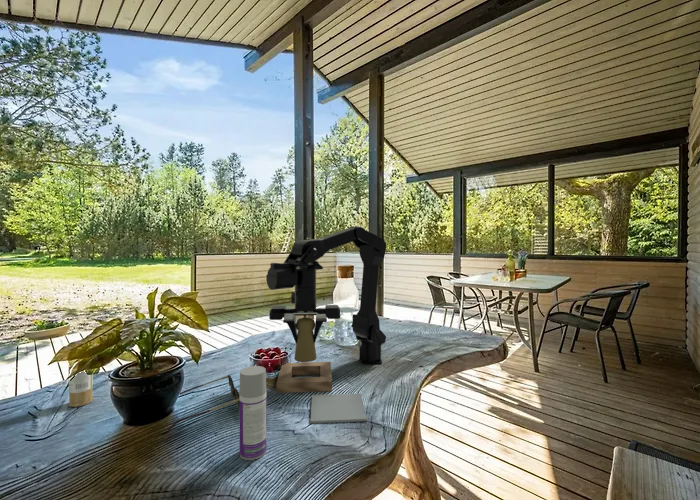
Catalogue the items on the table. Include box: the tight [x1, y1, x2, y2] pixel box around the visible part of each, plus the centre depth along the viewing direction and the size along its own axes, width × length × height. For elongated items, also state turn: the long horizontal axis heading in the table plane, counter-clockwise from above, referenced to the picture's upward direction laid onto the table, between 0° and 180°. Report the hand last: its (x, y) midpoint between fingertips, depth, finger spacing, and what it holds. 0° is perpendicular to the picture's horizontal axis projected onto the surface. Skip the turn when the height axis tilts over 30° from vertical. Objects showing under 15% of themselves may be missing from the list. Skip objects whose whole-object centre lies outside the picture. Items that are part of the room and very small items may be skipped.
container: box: [238, 365, 268, 461], centre depth 61 cm, size 5×5×15 cm
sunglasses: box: [166, 374, 240, 431], centre depth 76 cm, size 14×15×5 cm
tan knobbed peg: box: [293, 317, 317, 363], centre depth 92 cm, size 6×6×11 cm
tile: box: [310, 392, 368, 424], centre depth 77 cm, size 12×12×1 cm
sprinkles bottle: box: [68, 366, 94, 408], centre depth 79 cm, size 5×5×14 cm
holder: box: [275, 361, 333, 394], centre depth 92 cm, size 14×14×2 cm
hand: (305, 343), depth 92 cm, fingers closed on tan knobbed peg, 4 cm apart
